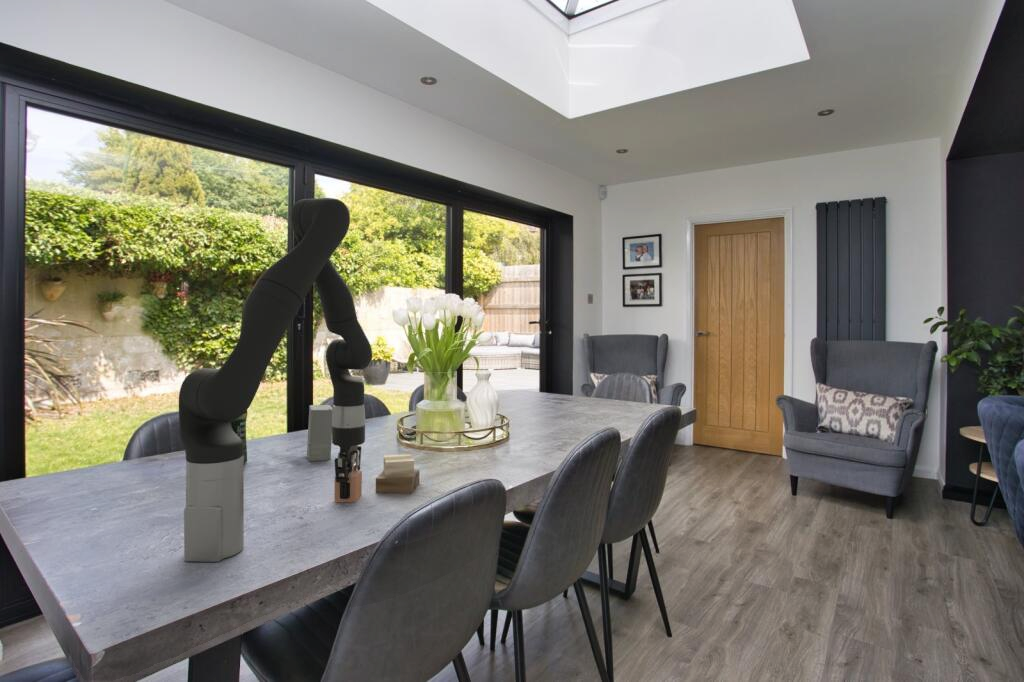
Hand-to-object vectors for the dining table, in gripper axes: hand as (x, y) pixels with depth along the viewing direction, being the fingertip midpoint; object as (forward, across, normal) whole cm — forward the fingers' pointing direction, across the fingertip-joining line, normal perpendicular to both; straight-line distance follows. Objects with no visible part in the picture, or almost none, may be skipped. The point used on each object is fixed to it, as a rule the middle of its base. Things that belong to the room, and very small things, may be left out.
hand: (348, 494), depth 131 cm
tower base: (+1, +9, -10) cm, 13 cm away
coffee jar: (+1, +27, +42) cm, 50 cm away
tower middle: (-3, +9, -10) cm, 14 cm away
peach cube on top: (+1, 0, 0) cm, 1 cm away
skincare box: (+1, +38, +20) cm, 43 cm away
